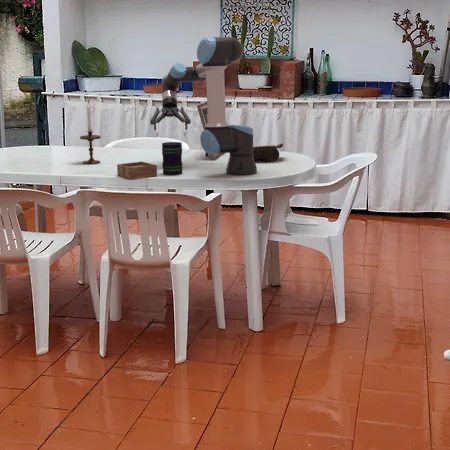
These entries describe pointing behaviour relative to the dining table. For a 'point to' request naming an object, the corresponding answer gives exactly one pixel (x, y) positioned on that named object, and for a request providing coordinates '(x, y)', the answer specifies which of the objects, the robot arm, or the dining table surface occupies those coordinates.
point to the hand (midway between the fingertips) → (170, 134)
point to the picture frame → (204, 119)
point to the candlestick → (90, 137)
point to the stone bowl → (267, 152)
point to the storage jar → (172, 158)
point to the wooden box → (137, 170)
